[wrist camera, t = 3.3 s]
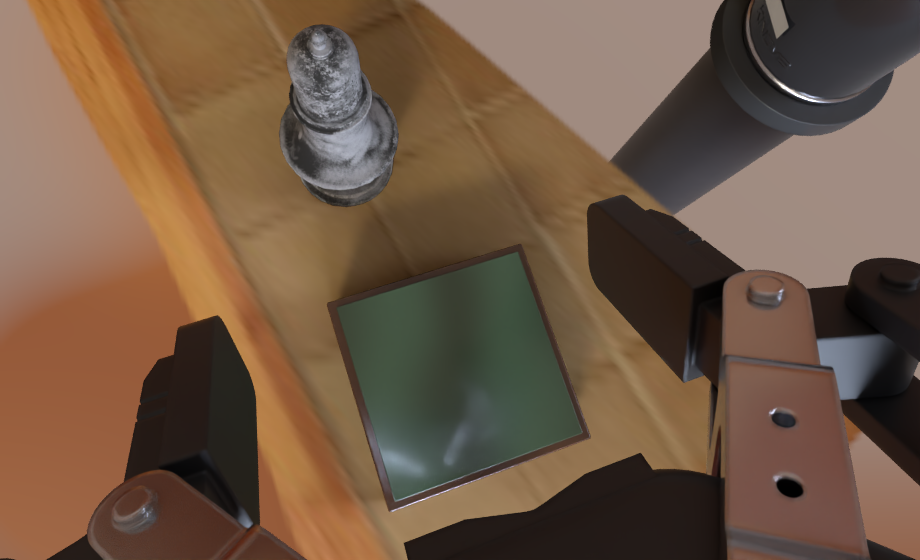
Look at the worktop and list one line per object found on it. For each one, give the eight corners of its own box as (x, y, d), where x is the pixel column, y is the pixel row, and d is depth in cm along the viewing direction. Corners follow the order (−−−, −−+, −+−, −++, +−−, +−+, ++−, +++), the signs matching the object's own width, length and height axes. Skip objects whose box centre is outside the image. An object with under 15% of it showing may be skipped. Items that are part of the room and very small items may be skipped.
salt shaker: (409, 127, 34) (415, -17, 22) (384, 223, 33) (376, 124, 21) (307, 101, 34) (259, -58, 22) (278, 197, 32) (210, 82, 21)
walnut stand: (509, 258, 33) (522, 241, 29) (571, 433, 31) (593, 438, 28) (333, 313, 31) (325, 301, 28) (390, 500, 30) (388, 514, 26)
